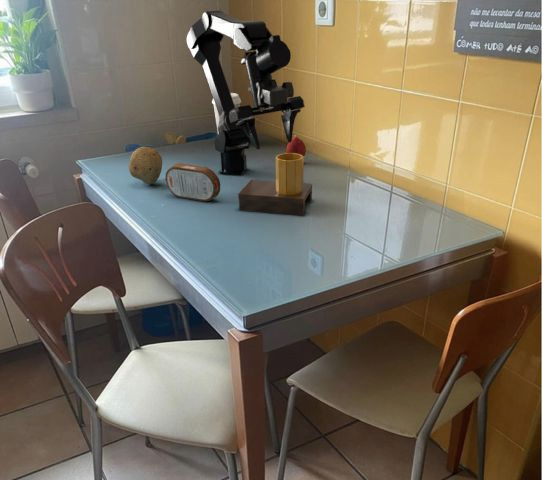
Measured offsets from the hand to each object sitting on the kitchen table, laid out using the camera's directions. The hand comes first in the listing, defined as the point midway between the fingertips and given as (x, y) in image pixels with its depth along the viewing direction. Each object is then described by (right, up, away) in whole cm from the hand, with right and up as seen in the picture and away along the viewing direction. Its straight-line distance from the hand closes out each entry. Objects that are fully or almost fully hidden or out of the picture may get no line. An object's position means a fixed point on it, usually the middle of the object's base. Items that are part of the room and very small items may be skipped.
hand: (274, 145), depth 137 cm
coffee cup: (-15, +18, +46) cm, 52 cm away
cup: (+4, -13, -5) cm, 14 cm away
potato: (-35, -6, +13) cm, 38 cm away
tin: (-21, -13, +3) cm, 25 cm away
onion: (+7, +5, +27) cm, 29 cm away
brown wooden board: (0, -16, -2) cm, 16 cm away
